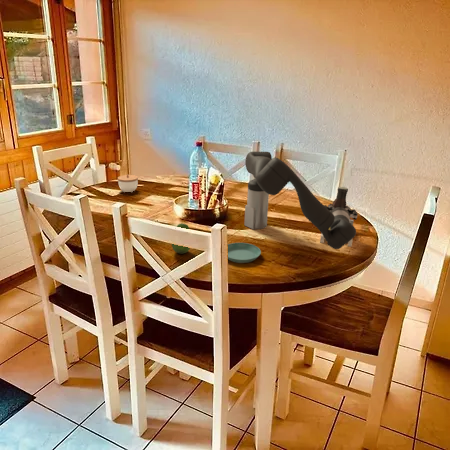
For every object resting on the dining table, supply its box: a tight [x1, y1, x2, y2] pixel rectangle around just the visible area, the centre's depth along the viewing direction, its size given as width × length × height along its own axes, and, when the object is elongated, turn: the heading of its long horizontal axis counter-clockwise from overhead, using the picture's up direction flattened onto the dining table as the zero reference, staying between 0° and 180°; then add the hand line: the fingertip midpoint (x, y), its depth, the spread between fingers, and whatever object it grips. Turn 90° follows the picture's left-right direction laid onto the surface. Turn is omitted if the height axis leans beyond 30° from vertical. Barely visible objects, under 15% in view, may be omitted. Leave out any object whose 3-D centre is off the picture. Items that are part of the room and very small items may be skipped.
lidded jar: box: [117, 174, 139, 193], centre depth 229 cm, size 11×11×9 cm
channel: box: [319, 219, 355, 248], centre depth 177 cm, size 18×12×5 cm
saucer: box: [227, 242, 262, 264], centre depth 157 cm, size 15×15×3 cm
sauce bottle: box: [329, 186, 349, 230], centre depth 172 cm, size 7×6×20 cm
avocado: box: [171, 222, 191, 255], centre depth 157 cm, size 8×8×12 cm
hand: (338, 207), depth 174 cm, fingers closed on sauce bottle, 6 cm apart
